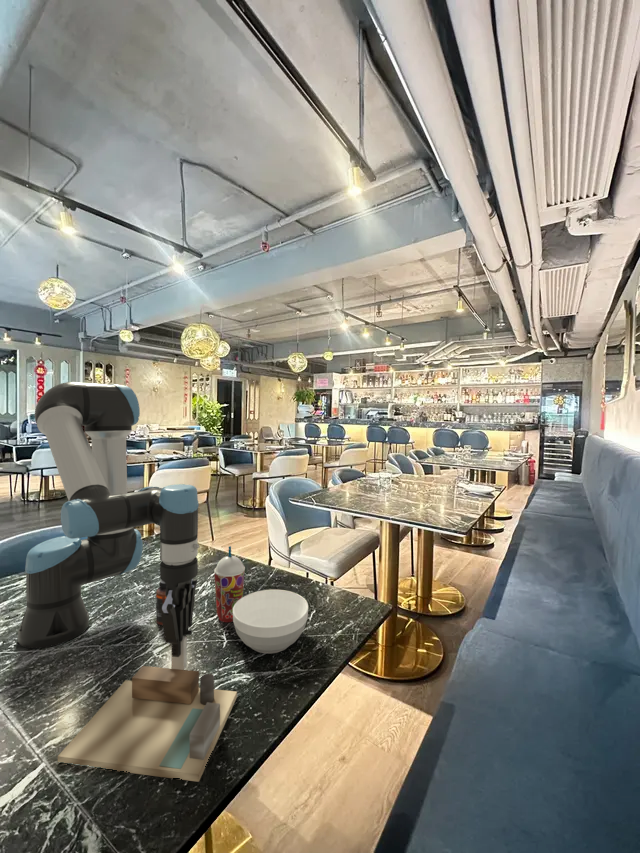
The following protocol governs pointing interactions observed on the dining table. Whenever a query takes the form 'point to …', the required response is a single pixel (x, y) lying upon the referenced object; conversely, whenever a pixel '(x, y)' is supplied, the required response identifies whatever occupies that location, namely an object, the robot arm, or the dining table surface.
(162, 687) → the leg
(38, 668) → the dining table surface
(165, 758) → the board
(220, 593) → the smoothie
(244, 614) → the bowl
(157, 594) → the supplement bottle
